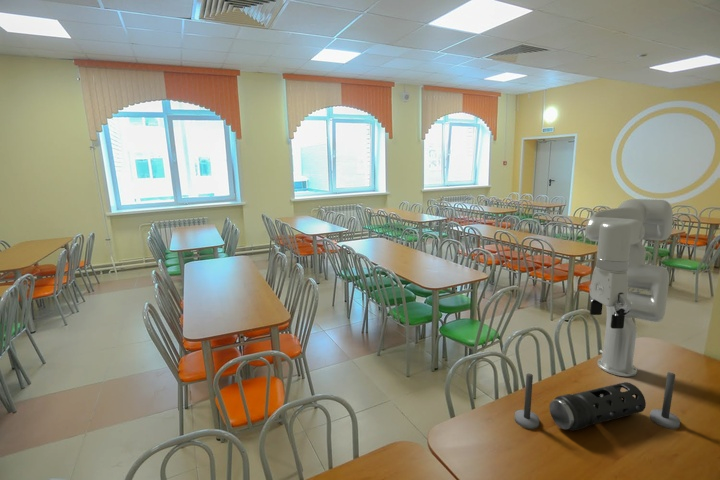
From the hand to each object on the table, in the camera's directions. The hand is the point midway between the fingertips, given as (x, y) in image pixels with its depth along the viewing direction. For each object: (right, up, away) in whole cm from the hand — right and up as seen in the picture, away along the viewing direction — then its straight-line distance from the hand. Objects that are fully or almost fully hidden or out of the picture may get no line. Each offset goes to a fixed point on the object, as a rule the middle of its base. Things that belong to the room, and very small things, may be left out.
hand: (605, 321), depth 105 cm
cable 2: (+22, -32, +5) cm, 39 cm away
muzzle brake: (+1, -33, +6) cm, 34 cm away
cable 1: (-20, -33, +7) cm, 39 cm away
